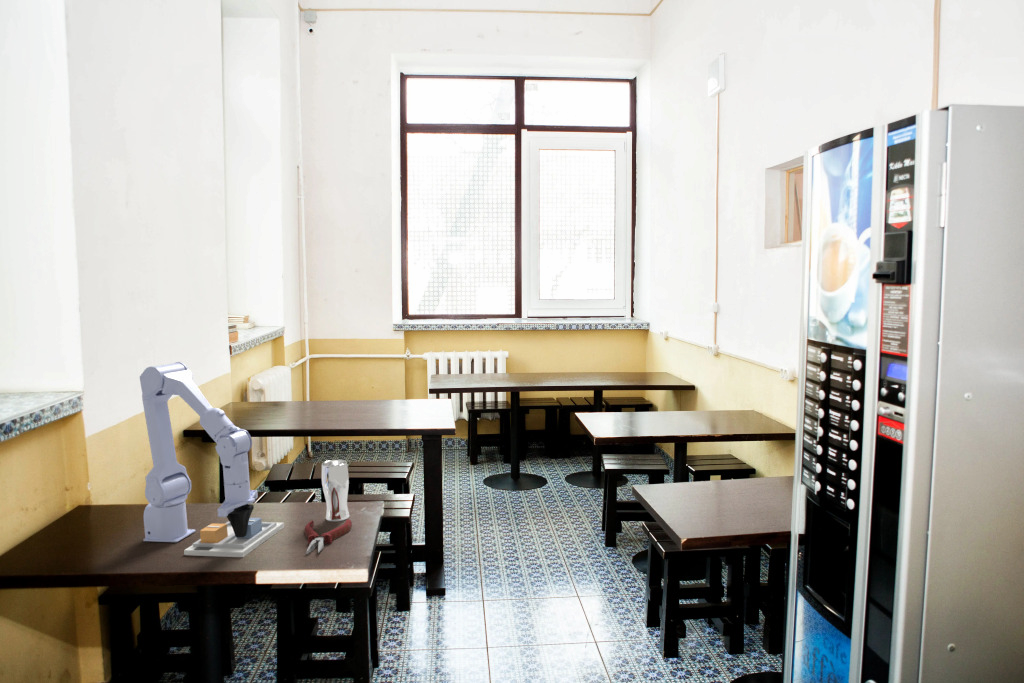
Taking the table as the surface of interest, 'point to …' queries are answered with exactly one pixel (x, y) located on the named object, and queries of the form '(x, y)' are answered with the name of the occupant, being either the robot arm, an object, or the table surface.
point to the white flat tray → (234, 542)
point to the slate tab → (253, 528)
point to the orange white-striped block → (213, 533)
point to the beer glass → (335, 489)
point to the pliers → (324, 535)
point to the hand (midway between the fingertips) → (240, 536)
